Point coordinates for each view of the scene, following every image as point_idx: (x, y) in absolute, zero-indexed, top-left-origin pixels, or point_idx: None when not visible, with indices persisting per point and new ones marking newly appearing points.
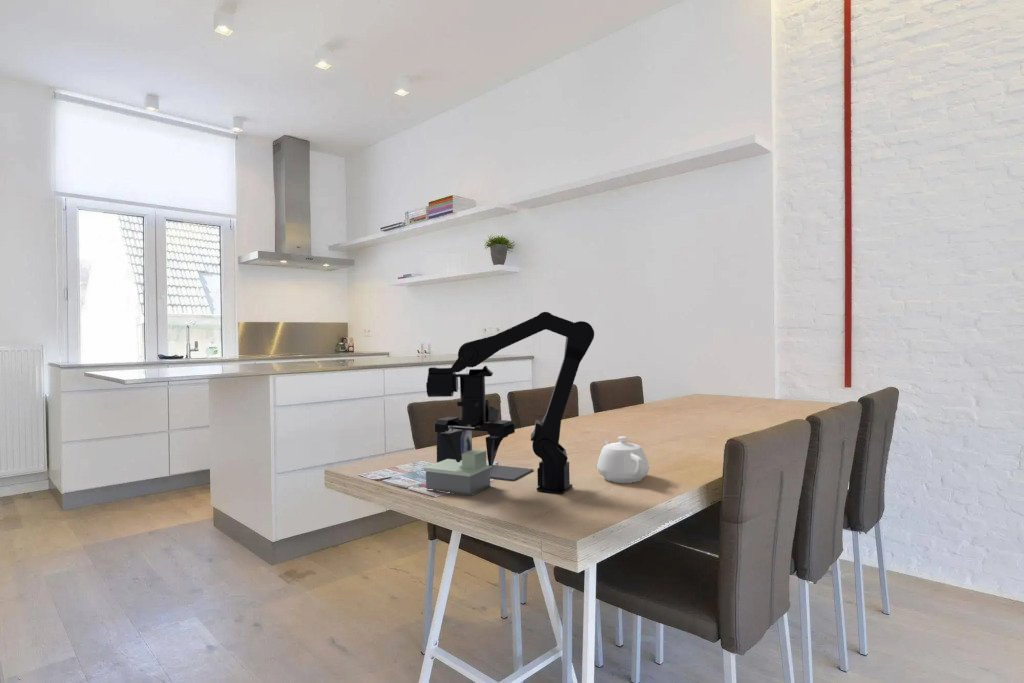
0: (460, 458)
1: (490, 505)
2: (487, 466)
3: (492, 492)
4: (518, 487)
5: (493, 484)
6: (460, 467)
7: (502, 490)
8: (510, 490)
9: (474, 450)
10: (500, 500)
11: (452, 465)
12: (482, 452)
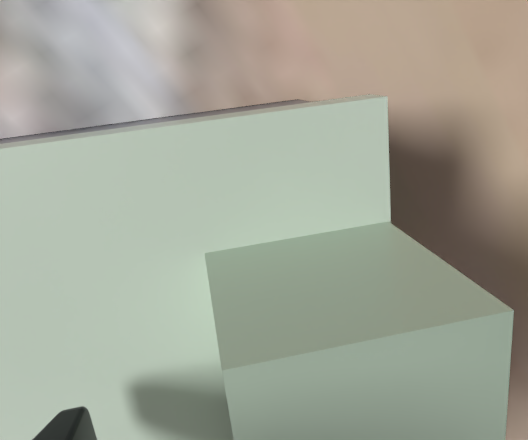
0: (79, 437)
1: (511, 408)
2: (382, 197)
3: (401, 224)
4: (513, 11)
5: (289, 40)
6: (174, 437)
7: (440, 147)
8: (491, 115)
9: (302, 416)
10: (523, 320)
11: (16, 433)
12: (503, 419)
